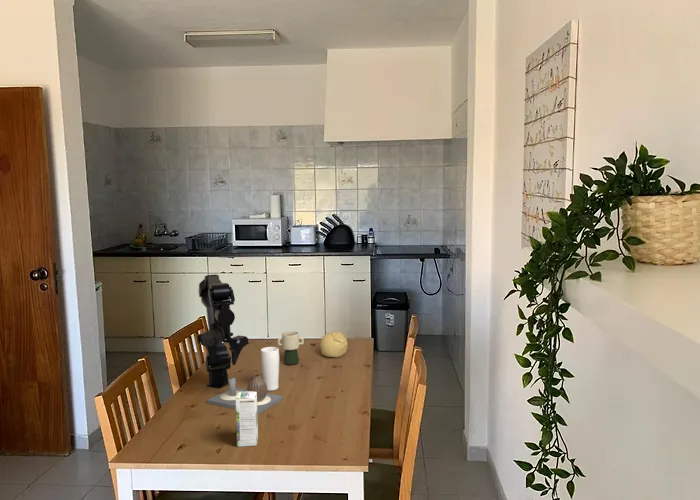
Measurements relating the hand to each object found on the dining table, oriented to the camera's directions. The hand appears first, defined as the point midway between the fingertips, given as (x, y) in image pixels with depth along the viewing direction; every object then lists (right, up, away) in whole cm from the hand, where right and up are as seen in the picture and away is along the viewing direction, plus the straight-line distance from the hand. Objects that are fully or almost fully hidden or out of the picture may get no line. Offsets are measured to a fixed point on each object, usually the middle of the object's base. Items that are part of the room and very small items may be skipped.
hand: (223, 363), depth 201 cm
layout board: (+8, -13, -1) cm, 15 cm away
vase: (+13, -12, -4) cm, 18 cm away
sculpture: (+38, -7, +49) cm, 62 cm away
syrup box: (+14, -17, -33) cm, 40 cm away
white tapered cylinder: (+15, -12, +10) cm, 22 cm away
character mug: (+20, -8, +40) cm, 45 cm away
